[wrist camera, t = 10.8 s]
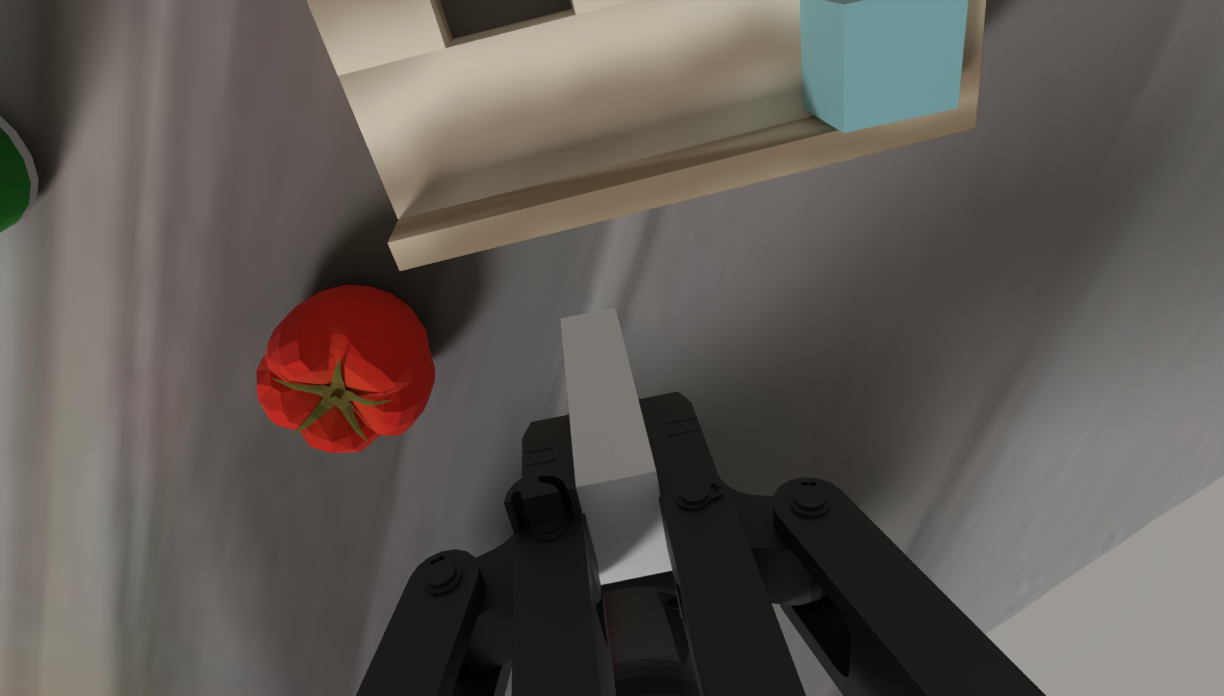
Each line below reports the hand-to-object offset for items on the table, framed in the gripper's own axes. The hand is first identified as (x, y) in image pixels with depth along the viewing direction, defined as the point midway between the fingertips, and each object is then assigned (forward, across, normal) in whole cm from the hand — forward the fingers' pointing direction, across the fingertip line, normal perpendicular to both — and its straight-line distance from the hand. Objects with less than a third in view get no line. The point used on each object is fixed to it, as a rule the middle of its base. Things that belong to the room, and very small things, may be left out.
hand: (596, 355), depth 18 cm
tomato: (+21, -14, -8) cm, 27 cm away
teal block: (+17, +15, +4) cm, 23 cm away
